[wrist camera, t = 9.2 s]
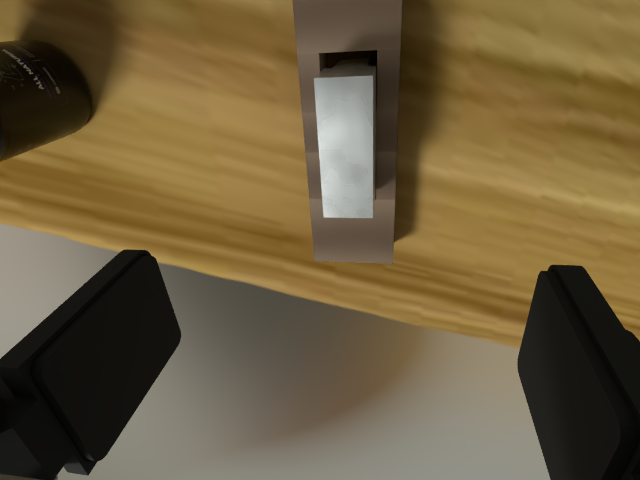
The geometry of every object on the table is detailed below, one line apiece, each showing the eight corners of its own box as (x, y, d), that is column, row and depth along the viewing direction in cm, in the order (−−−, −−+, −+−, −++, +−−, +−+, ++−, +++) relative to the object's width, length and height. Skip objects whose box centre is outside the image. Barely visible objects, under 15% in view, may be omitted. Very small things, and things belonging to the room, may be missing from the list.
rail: (299, -51, 23) (287, -57, 21) (403, -61, 22) (404, -69, 20) (320, 241, 34) (314, 260, 31) (393, 243, 33) (392, 263, 30)
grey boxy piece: (332, 60, 26) (313, 78, 20) (378, 58, 26) (373, 75, 20) (337, 174, 30) (323, 217, 24) (377, 174, 30) (372, 218, 24)
